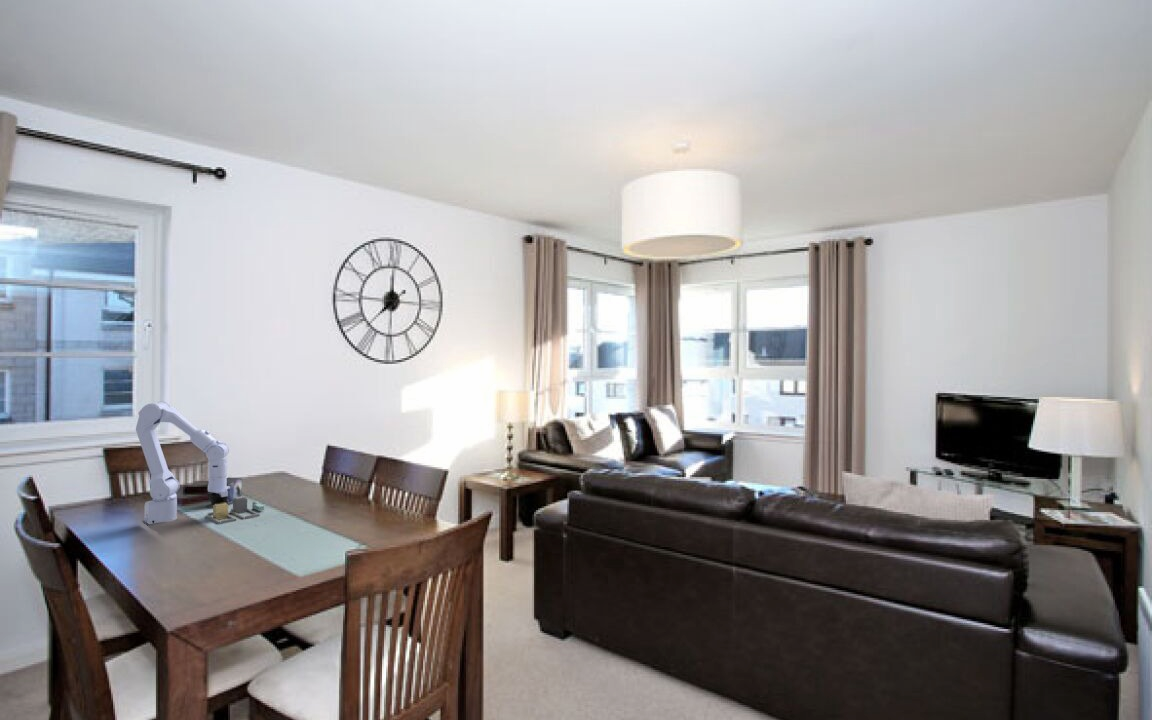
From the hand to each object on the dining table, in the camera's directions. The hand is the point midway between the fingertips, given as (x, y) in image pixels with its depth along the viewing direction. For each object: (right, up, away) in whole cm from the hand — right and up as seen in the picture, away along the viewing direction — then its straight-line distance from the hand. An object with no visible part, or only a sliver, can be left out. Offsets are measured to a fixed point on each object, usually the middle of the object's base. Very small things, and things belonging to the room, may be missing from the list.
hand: (217, 512), depth 217 cm
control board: (+6, -3, +2) cm, 7 cm away
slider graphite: (+5, -1, +7) cm, 8 cm away
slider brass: (+2, -2, -2) cm, 3 cm away
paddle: (+10, -1, +9) cm, 14 cm away
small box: (-9, -3, +20) cm, 22 cm away
